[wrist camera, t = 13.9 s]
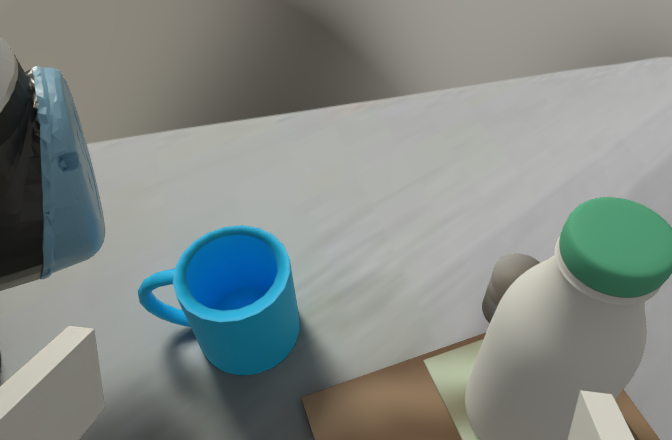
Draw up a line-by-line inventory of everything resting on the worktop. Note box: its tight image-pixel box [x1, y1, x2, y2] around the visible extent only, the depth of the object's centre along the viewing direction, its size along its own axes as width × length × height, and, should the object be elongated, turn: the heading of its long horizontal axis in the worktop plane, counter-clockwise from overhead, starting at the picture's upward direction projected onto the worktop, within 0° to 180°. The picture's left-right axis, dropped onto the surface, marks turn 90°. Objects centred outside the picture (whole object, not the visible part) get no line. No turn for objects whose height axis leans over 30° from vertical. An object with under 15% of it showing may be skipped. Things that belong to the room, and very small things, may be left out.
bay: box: [301, 254, 660, 440], centre depth 38 cm, size 16×21×5 cm
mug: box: [138, 225, 300, 376], centre depth 41 cm, size 12×8×8 cm
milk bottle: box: [465, 197, 672, 440], centre depth 31 cm, size 8×8×20 cm
